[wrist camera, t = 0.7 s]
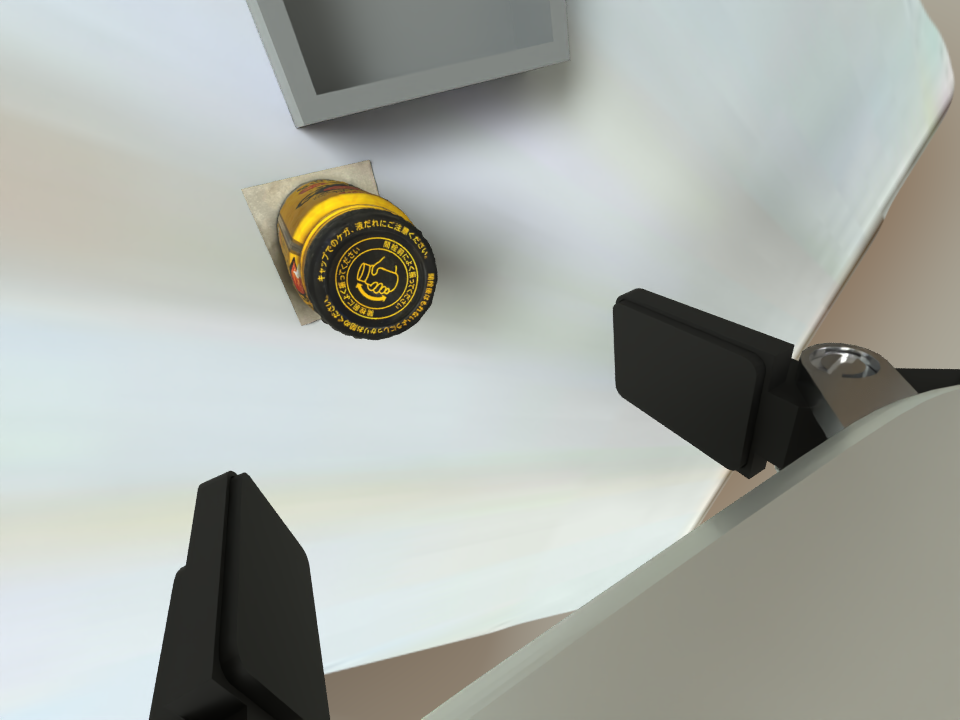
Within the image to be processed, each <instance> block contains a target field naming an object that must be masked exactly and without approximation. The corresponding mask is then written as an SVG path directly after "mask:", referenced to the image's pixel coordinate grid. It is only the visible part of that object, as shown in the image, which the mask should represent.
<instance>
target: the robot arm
mask: <svg viewBox="0 0 960 720" xmlns="http://www.w3.org/2000/svg"><path fill="white" fill-rule="evenodd" d="M613 328H614V355H615V382H616V389H617V391H618V393H619V394H620V395H621V396H622V397H623V398H624V399H626V400H627V401H629V402H630V403H632V404H633V405H635V406H636V407H637V408H639V409H640V410H642V411H643V412H645V413H646V414H648V415H649V416H651V417H652V418H654V419H655V420H656V421H658V422H659V423H661V424H662V425H664V426H665V427H667V428H668V429H670V430H671V431H673V432H674V433H676V434H677V435H678V436H680V437H681V438H683V439H684V440H686V441H687V442H689V443H690V444H692V445H693V446H695V447H696V448H698V449H699V450H700V451H702V452H703V453H705V454H706V455H708V456H709V457H711V458H712V459H714V460H715V461H717V462H718V463H719V464H721V465H722V466H724V467H725V468H727V469H729V470H733V471H734V470H736V471H738V472H739V473H741V474H742V475H744V476H745V477H747V478H748V479H750V478H752V477H753V476H755V475H756V474H758V473H759V472H761V471H762V470H763V469H765V467H766V463H767V461H768V462H770V463H772V464H773V465H775V469H776V471H777V473H776V474H775V475H773V476H772V477H771V478H769V479H768V480H766V481H765V482H763V483H762V484H760V485H759V486H758V487H756V488H754V489H753V490H752V491H750V492H748V493H747V494H745V495H744V496H743V497H741V498H740V499H738V500H737V501H735V502H734V503H732V504H731V505H729V506H728V507H726V508H725V509H723V510H722V511H720V512H719V513H717V514H716V515H715V516H713V517H712V518H710V519H709V520H707V521H706V522H704V523H703V524H701V525H700V526H698V527H697V528H696V529H694V530H693V531H691V532H690V533H688V534H687V535H685V536H684V537H682V538H681V539H679V540H678V541H677V542H675V543H674V544H672V545H671V546H669V547H668V548H666V549H665V550H663V551H662V552H661V553H659V554H658V555H656V556H655V557H653V558H652V559H650V560H649V561H647V562H646V563H645V564H643V565H642V566H640V567H639V568H637V569H636V570H634V571H633V572H631V573H630V574H629V575H627V576H626V577H624V578H623V579H621V580H620V581H618V582H617V583H615V584H614V585H613V586H611V587H610V588H608V589H607V590H605V591H604V592H602V593H601V594H599V595H598V596H597V597H595V598H594V599H592V600H591V601H589V602H588V603H586V604H585V605H584V606H582V607H581V608H579V609H578V610H576V611H575V612H573V613H572V614H571V615H569V616H568V617H566V618H565V619H563V620H562V621H560V622H559V623H558V624H556V625H555V626H553V627H552V628H550V629H549V630H548V631H546V632H545V633H543V634H542V635H540V636H539V637H537V638H536V639H535V640H533V641H532V642H530V643H529V644H527V645H526V646H524V647H523V648H522V649H520V650H519V651H517V652H516V653H514V654H513V655H511V656H510V657H509V658H507V659H506V660H504V661H503V662H501V663H500V664H499V665H497V666H496V667H494V668H493V669H491V670H490V671H489V672H487V673H486V674H484V675H483V676H481V677H480V678H478V679H477V680H475V681H474V682H473V683H471V684H470V685H468V686H467V687H465V688H464V689H463V690H461V691H460V692H458V693H457V694H456V695H454V696H453V697H452V698H450V699H449V700H447V701H446V702H445V703H443V704H442V705H440V706H439V707H438V708H436V709H435V710H433V711H432V712H431V713H429V714H428V715H426V716H425V717H424V718H422V719H421V720H960V369H905V368H903V369H902V368H901V369H900V368H894V367H893V366H892V365H891V364H890V363H889V362H888V361H887V360H886V359H885V358H884V357H882V356H881V355H880V354H878V353H875V352H873V351H871V350H869V349H866V348H863V347H859V346H856V345H849V344H844V343H823V344H816V345H813V346H810V347H807V348H806V349H805V350H803V351H802V353H801V356H800V359H799V361H797V360H794V359H792V358H791V357H792V353H793V349H794V345H793V344H791V343H788V342H785V341H782V340H780V339H777V338H774V337H772V336H769V335H766V334H764V333H761V332H758V331H755V330H753V329H750V328H747V327H745V326H742V325H739V324H736V323H734V322H731V321H728V320H726V319H723V318H720V317H717V316H715V315H712V314H709V313H707V312H704V311H701V310H699V309H696V308H693V307H690V306H688V305H685V304H682V303H680V302H677V301H674V300H671V299H669V298H666V297H663V296H661V295H658V294H655V293H652V292H650V291H647V290H644V289H641V288H637V289H634V290H632V291H630V292H628V293H625V294H623V295H621V296H619V297H618V298H617V300H616V304H615V305H614V307H613ZM149 720H330V715H329V708H328V700H327V693H326V685H325V678H324V671H323V663H322V656H321V648H320V641H319V634H318V626H317V619H316V611H315V604H314V597H313V589H312V582H311V574H310V567H309V562H308V558H307V556H306V553H305V551H304V550H303V548H302V547H301V545H300V544H299V543H298V541H297V540H296V538H295V537H294V536H293V534H292V533H291V532H290V530H289V529H288V528H287V526H286V525H285V524H284V522H283V521H282V519H281V518H280V517H279V515H278V514H277V513H276V511H275V510H274V509H273V507H272V506H271V505H270V503H269V502H268V501H267V499H266V498H265V496H264V495H263V494H262V492H261V491H260V490H259V488H258V487H257V486H256V484H255V483H254V482H253V480H252V479H251V477H250V476H249V475H248V474H247V473H242V474H239V475H237V474H236V473H235V472H233V471H229V472H226V473H224V474H222V475H220V476H217V477H215V478H213V479H211V480H209V481H206V482H204V483H202V484H201V485H199V488H198V492H197V499H196V505H195V511H194V517H193V524H192V530H191V536H190V543H189V549H188V555H187V562H186V566H184V567H182V568H180V570H179V571H178V572H177V573H176V576H175V579H174V583H173V589H172V594H171V600H170V605H169V611H168V616H167V622H166V628H165V633H164V639H163V644H162V650H161V655H160V661H159V666H158V672H157V677H156V683H155V689H154V694H153V700H152V705H151V711H150V716H149Z"/></svg>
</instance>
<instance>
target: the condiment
mask: <svg viewBox="0 0 960 720" xmlns="http://www.w3.org/2000/svg"><path fill="white" fill-rule="evenodd" d="M241 190H242V192H243V194H244V197H245V199H246V201H247V203H248V206H249V208H250V210H251V212H252V215H253V217H254V219H255V221H256V224H257V226H258V228H259V230H260V233H261V235H262V237H263V239H264V242H265V244H266V246H267V248H268V251H269V253H270V255H271V257H272V260H273V262H274V265H275V266H276V269H277V271H278V273H279V276H280V278H281V280H282V282H283V285H284V287H285V289H286V291H287V294H288V296H289V298H290V300H291V303H292V305H293V307H294V309H295V312H296V314H297V316H298V319H299V321H300V323H301V325H302V326H303V325H305V324H308V323H311V322H314V321H316V320H318V319H321V320H322V321H323V322H324V323H326V324H329V325H330V326H331V327H332V328H333V329H334V330H336V331H340V332H341V333H342V334H345V335H348V336H353V337H354V338H356V339H357V338H359V339H362V338H364V339H368V340H369V339H370V340H380V339H385V338H389V337H392V336H394V335H398V334H400V333H402V332H404V331H406V330H408V329H409V328H410V327H412V326H414V325H415V324H416V323H417V322H418V321H419V320H420V319H421V317H422V316H423V315H424V314H425V312H426V311H427V310H428V308H429V307H430V306H431V304H432V300H433V296H434V292H435V288H436V284H437V268H436V264H435V258H434V254H433V252H432V249H431V247H430V245H429V243H428V241H427V240H426V239H425V238H424V237H423V235H422V232H421V231H419V230H418V229H417V228H416V227H415V226H414V225H413V224H412V222H411V221H410V220H409V218H408V217H407V216H406V215H405V213H403V212H402V211H401V210H400V209H399V208H398V207H396V206H395V205H393V204H392V203H391V202H389V201H388V200H386V199H384V198H382V197H380V196H379V194H378V190H377V186H376V183H375V180H374V176H373V172H372V168H371V164H370V160H367V161H362V162H358V163H353V164H348V165H345V166H340V167H336V168H331V169H327V170H322V171H318V172H314V173H309V174H305V175H301V176H296V177H292V178H288V179H283V180H279V181H274V182H271V183H266V184H262V185H258V186H253V187H249V188H244V189H241Z"/></svg>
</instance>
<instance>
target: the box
mask: <svg viewBox="0 0 960 720" xmlns="http://www.w3.org/2000/svg"><path fill="white" fill-rule="evenodd" d="M246 2H247V5H248V7H249V10H250V12H251V15H252V17H253V20H254V23H255V25H256V28H257V30H258V33H259V35H260V38H261V40H262V43H263V45H264V48H265V50H266V53H267V56H268V58H269V61H270V63H271V66H272V68H273V71H274V73H275V76H276V78H277V81H278V83H279V86H280V89H281V91H282V94H283V96H284V99H285V101H286V104H287V106H288V109H289V111H290V114H291V116H292V119H293V122H294V124H295V127H296V128H298V127H302V126H307V125H311V124H315V123H319V122H323V121H327V120H331V119H335V118H339V117H343V116H347V115H351V114H355V113H359V112H363V111H368V110H372V109H376V108H380V107H384V106H388V105H392V104H396V103H400V102H404V101H408V100H412V99H416V98H420V97H424V96H429V95H433V94H437V93H441V92H445V91H449V90H453V89H457V88H461V87H465V86H469V85H473V84H477V83H481V82H485V81H490V80H494V79H498V78H502V77H506V76H510V75H514V74H518V73H522V72H526V71H530V70H534V69H538V68H542V67H545V66H549V65H553V64H557V63H561V62H565V61H568V60H570V51H569V38H568V24H567V10H566V0H246Z"/></svg>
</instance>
